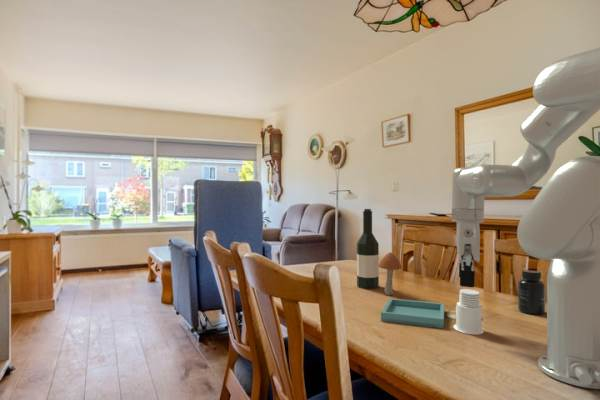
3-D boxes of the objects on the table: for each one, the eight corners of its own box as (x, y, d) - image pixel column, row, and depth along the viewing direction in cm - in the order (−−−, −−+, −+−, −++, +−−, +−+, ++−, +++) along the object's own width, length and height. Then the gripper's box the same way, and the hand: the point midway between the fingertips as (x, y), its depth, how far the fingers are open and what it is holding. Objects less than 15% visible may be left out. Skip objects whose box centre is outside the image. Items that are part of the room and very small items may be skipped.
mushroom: (406, 296, 128) (406, 253, 128) (387, 298, 125) (387, 254, 125) (392, 291, 136) (392, 250, 136) (374, 293, 133) (374, 251, 133)
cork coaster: (481, 323, 99) (481, 321, 99) (445, 319, 103) (445, 318, 103) (479, 314, 108) (479, 312, 108) (446, 310, 111) (446, 309, 111)
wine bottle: (352, 285, 146) (352, 208, 146) (370, 283, 149) (370, 208, 149) (364, 289, 138) (364, 209, 138) (383, 287, 142) (383, 209, 142)
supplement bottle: (549, 316, 106) (549, 274, 106) (523, 314, 107) (523, 273, 108) (539, 309, 113) (539, 269, 113) (514, 308, 114) (514, 269, 114)
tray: (443, 328, 96) (443, 319, 96) (381, 320, 102) (381, 312, 102) (444, 311, 111) (444, 303, 111) (389, 305, 117) (389, 298, 117)
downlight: (446, 326, 97) (447, 288, 97) (466, 323, 100) (468, 286, 99) (469, 338, 90) (471, 297, 89) (491, 334, 92) (493, 294, 92)
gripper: (487, 218, 86) (485, 292, 86) (481, 214, 102) (479, 276, 102) (451, 217, 88) (450, 288, 89) (451, 213, 104) (450, 274, 105)
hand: (466, 282), depth 95 cm, fingers open, 9 cm apart
